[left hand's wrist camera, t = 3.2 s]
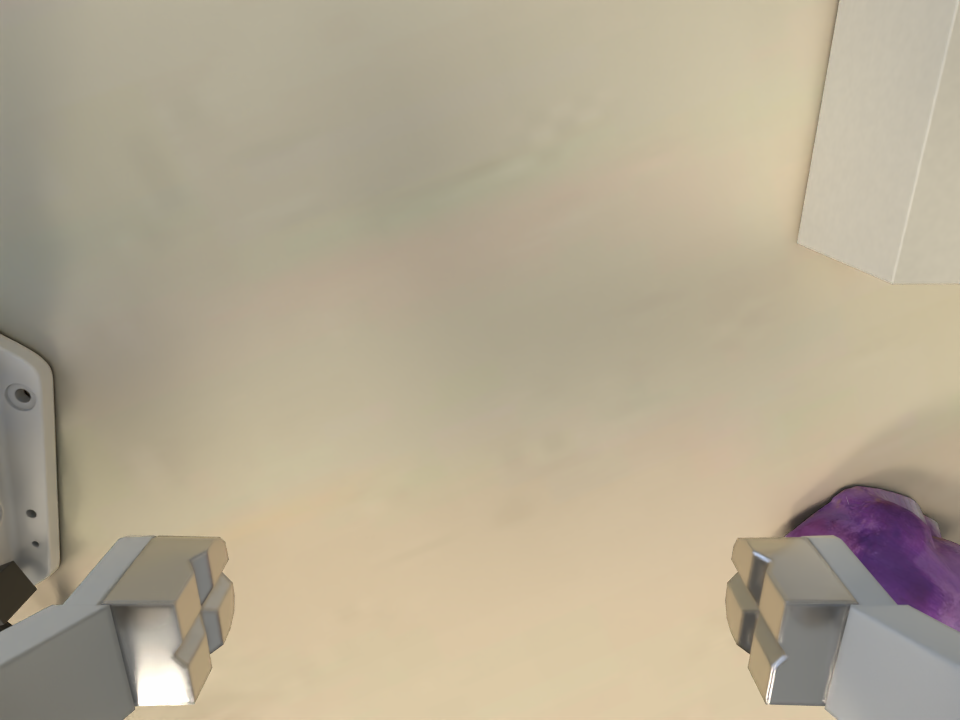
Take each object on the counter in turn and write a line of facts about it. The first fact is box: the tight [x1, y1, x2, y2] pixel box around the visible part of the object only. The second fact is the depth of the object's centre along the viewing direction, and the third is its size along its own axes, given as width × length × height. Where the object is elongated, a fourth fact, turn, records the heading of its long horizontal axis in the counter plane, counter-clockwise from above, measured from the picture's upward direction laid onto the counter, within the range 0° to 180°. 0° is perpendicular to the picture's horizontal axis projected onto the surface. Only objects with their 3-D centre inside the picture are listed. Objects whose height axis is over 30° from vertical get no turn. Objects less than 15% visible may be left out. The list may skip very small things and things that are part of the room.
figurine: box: [785, 486, 960, 632], centre depth 34 cm, size 9×10×15 cm
